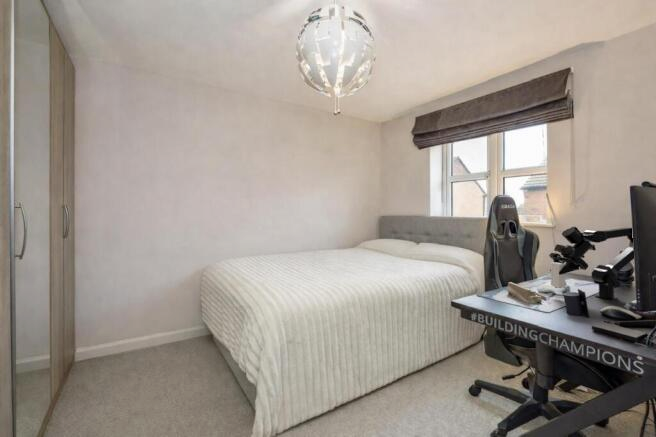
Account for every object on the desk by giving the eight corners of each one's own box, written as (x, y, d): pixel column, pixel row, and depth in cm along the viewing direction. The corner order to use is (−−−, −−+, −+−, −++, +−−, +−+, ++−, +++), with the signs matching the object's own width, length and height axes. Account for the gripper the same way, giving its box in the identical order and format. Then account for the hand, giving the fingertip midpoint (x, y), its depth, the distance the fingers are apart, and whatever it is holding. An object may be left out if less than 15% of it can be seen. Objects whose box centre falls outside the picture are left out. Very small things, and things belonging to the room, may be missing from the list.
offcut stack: (525, 295, 153) (525, 286, 153) (537, 301, 143) (537, 291, 143) (516, 295, 154) (517, 286, 153) (528, 300, 144) (529, 291, 144)
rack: (531, 293, 155) (531, 282, 155) (552, 302, 139) (553, 290, 139) (508, 293, 156) (508, 282, 156) (527, 302, 140) (527, 290, 140)
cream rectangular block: (557, 285, 150) (557, 262, 149) (565, 287, 144) (565, 264, 144) (550, 285, 150) (551, 262, 149) (558, 287, 144) (559, 264, 144)
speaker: (588, 313, 124) (585, 288, 124) (589, 318, 120) (586, 292, 120) (565, 311, 129) (562, 287, 129) (565, 315, 125) (562, 291, 125)
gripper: (552, 237, 155) (531, 258, 156) (581, 240, 137) (557, 264, 137) (568, 252, 155) (546, 273, 156) (599, 257, 137) (574, 281, 137)
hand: (555, 272), depth 147 cm, fingers closed on cream rectangular block, 5 cm apart
